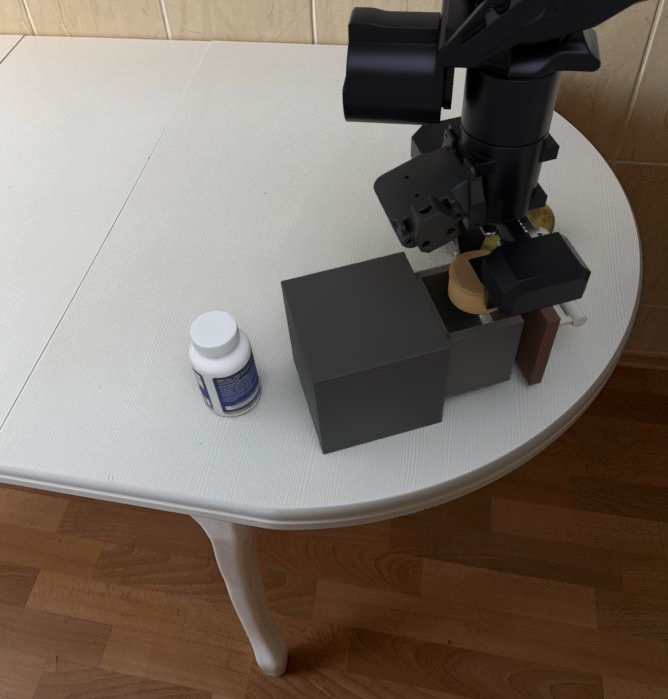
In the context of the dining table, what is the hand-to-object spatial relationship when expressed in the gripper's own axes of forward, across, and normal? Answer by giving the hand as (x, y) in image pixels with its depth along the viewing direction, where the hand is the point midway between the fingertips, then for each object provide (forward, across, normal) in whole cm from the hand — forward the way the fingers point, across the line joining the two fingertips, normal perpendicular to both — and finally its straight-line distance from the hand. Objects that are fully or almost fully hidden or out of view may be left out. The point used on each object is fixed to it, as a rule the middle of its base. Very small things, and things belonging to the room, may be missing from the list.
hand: (478, 284), depth 58 cm
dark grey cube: (+11, 0, -10) cm, 15 cm away
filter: (+1, 0, 0) cm, 1 cm away
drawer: (+10, 0, +2) cm, 10 cm away
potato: (+11, -14, +8) cm, 20 cm away
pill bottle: (+11, -3, -22) cm, 25 cm away
